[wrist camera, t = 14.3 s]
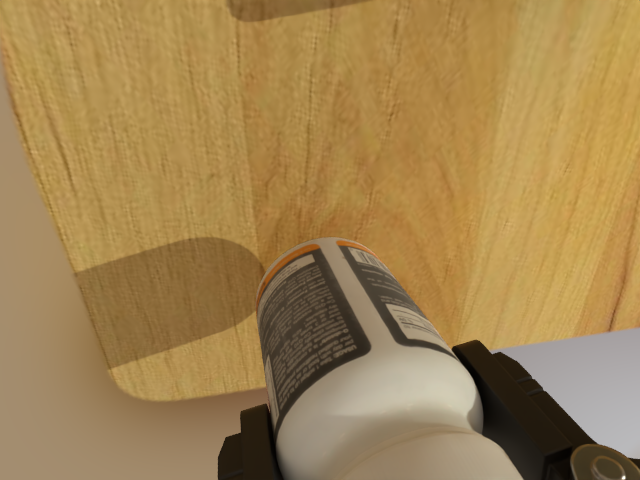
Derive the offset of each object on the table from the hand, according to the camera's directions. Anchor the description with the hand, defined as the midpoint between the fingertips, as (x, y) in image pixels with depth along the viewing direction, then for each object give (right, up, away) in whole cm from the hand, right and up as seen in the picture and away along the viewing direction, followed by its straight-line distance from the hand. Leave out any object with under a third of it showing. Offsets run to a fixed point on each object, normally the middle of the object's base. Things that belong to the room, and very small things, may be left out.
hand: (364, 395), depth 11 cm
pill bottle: (-1, +2, +5) cm, 6 cm away
